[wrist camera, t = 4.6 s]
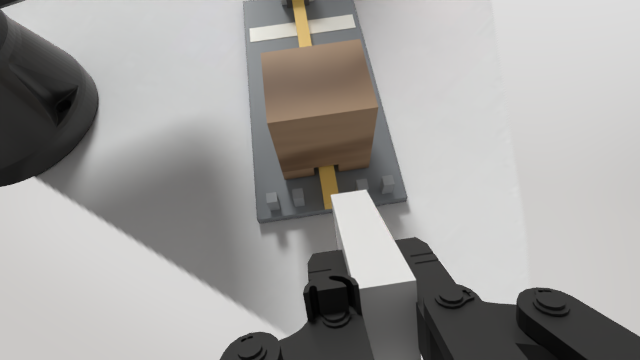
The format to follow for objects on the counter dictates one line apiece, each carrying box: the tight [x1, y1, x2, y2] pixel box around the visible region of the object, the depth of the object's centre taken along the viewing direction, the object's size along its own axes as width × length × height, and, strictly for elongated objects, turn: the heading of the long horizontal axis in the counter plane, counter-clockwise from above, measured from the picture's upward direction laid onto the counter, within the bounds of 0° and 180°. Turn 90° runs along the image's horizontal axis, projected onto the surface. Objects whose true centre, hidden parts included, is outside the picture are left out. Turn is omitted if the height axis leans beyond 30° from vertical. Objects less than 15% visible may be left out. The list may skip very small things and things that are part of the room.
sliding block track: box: [243, 0, 407, 223], centre depth 33 cm, size 26×12×4 cm, turn 8°
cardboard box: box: [261, 39, 378, 180], centre depth 27 cm, size 6×7×8 cm
